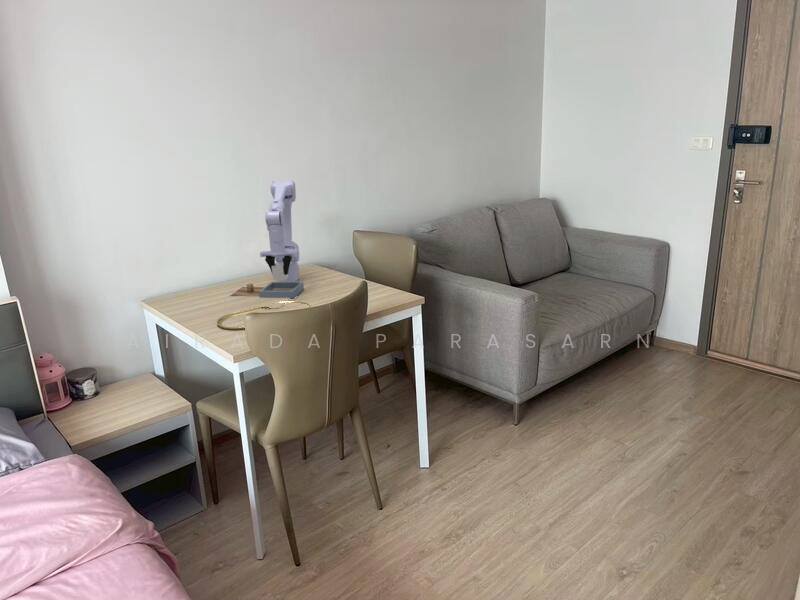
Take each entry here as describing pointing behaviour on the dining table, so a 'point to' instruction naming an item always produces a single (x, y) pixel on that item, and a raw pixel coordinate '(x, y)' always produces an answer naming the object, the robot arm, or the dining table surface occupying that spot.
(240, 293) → the stud base
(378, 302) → the dining table surface
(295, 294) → the bin
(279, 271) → the metal block
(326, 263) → the dining table surface
